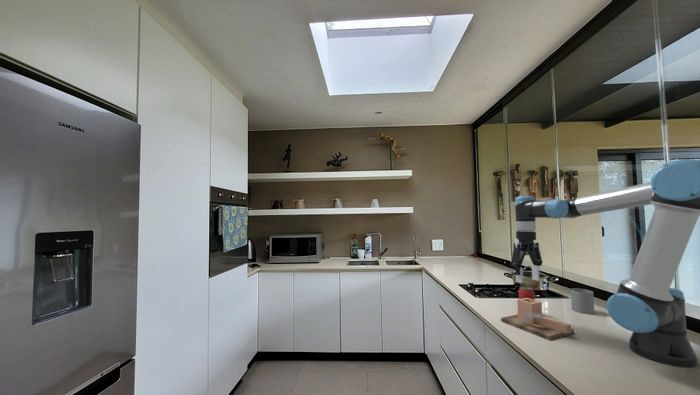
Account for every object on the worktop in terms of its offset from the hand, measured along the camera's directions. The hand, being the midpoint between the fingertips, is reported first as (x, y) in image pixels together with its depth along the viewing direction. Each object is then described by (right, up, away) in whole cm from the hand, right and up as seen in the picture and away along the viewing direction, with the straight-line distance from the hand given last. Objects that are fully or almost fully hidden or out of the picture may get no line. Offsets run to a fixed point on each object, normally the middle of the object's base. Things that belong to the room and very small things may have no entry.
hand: (527, 281), depth 121 cm
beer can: (+7, -19, +11) cm, 23 cm away
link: (+2, -16, -7) cm, 17 cm away
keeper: (-3, -17, -9) cm, 20 cm away
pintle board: (0, -17, -6) cm, 18 cm away
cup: (+36, -19, +14) cm, 43 cm away
